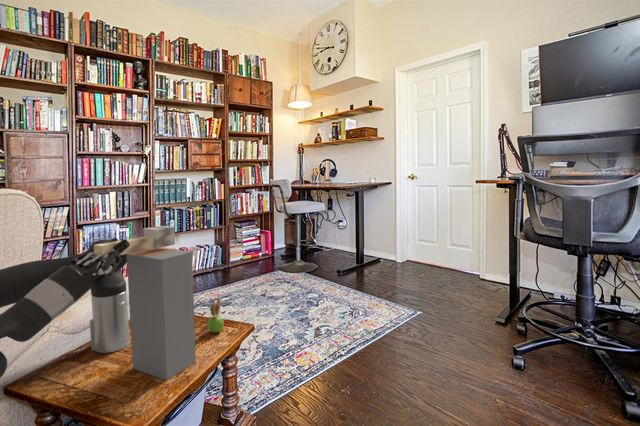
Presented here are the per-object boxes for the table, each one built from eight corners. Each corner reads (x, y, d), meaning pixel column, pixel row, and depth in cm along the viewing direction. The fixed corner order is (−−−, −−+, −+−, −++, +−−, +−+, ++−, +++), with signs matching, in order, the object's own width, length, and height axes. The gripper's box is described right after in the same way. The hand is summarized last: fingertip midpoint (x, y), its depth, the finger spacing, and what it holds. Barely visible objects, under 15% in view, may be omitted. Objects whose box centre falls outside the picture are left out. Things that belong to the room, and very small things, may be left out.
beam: (105, 259, 79) (104, 237, 79) (91, 257, 82) (90, 236, 81) (174, 244, 98) (174, 227, 97) (162, 242, 100) (161, 225, 99)
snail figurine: (227, 327, 121) (226, 294, 119) (220, 336, 114) (219, 301, 113) (212, 326, 121) (211, 293, 120) (204, 335, 115) (203, 300, 114)
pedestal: (167, 380, 89) (161, 258, 86) (132, 368, 95) (126, 253, 91) (195, 361, 98) (192, 250, 95) (163, 351, 104) (158, 246, 100)
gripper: (67, 285, 68) (134, 231, 81) (28, 275, 74) (96, 227, 87) (88, 310, 72) (149, 255, 85) (49, 299, 78) (111, 249, 91)
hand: (122, 241), depth 86 cm, fingers closed on beam, 3 cm apart
